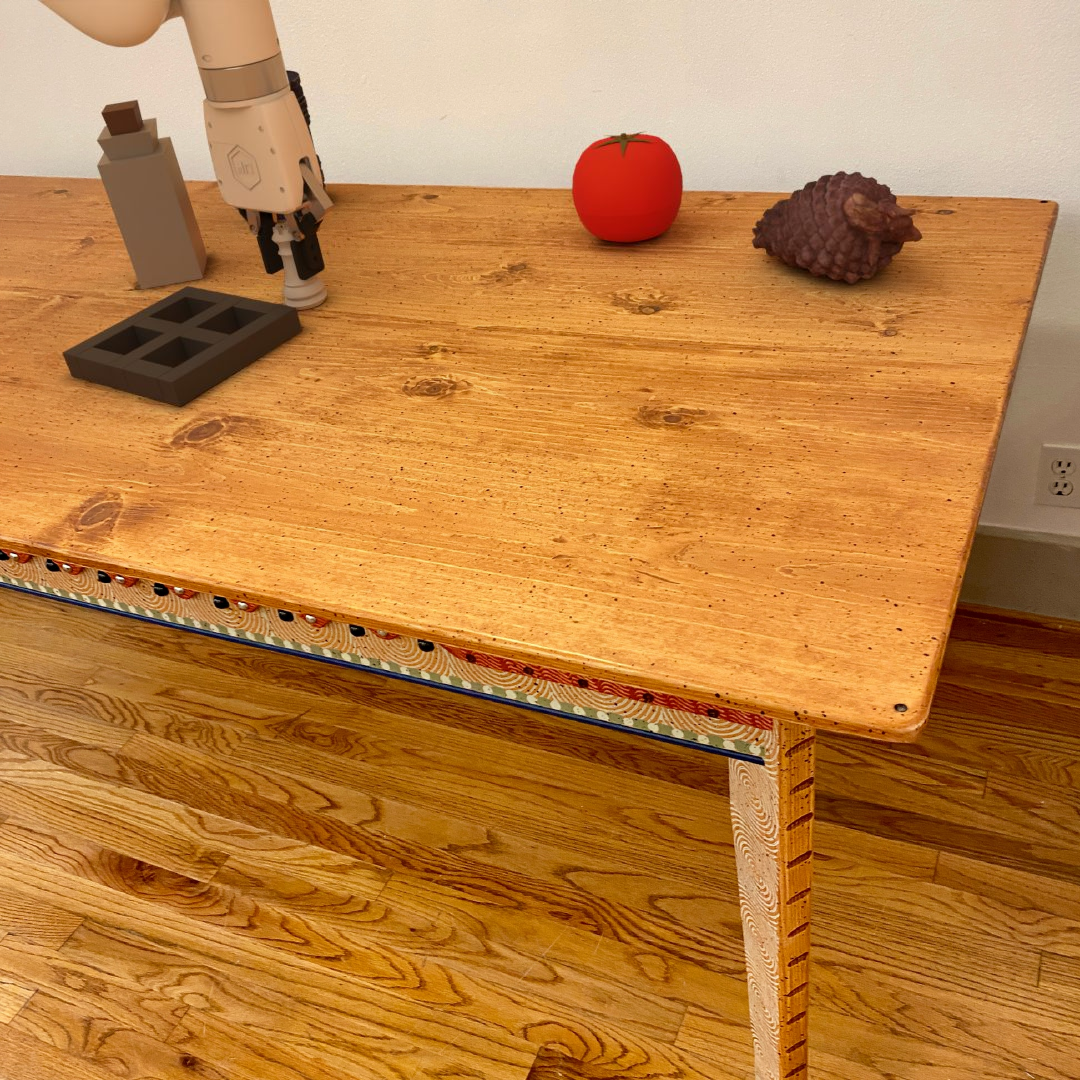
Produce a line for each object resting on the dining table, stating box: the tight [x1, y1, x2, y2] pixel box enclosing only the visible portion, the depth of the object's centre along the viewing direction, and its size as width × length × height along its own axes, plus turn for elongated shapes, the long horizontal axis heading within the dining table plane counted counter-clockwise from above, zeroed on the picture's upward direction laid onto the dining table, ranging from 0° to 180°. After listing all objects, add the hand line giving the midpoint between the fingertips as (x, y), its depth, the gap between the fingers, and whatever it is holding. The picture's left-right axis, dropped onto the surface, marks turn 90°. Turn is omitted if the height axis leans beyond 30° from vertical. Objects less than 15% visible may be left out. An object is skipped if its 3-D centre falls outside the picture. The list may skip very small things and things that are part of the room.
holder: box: [61, 285, 303, 407], centre depth 103 cm, size 16×16×2 cm
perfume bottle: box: [96, 99, 208, 290], centre depth 116 cm, size 7×7×18 cm
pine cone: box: [751, 170, 924, 285], centre depth 99 cm, size 18×10×10 cm
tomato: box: [571, 130, 684, 243], centre depth 111 cm, size 11×12×10 cm
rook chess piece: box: [272, 221, 328, 311], centre depth 108 cm, size 4×4×8 cm
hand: (295, 270), depth 109 cm, fingers open, 3 cm apart
